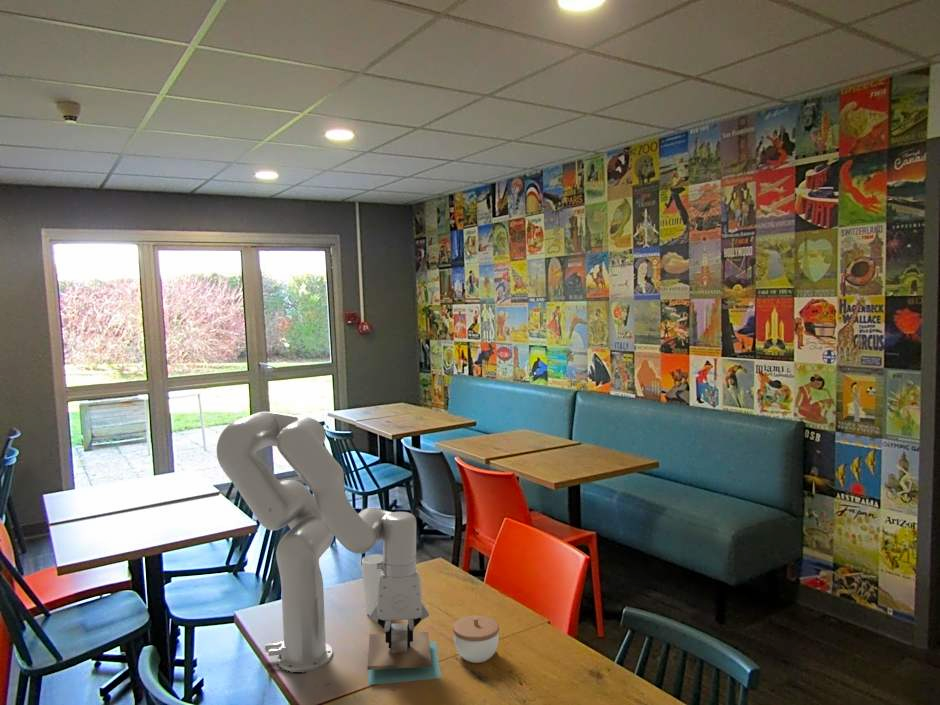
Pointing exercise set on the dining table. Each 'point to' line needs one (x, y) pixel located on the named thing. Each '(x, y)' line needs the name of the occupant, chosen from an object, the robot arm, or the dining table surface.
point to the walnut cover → (398, 650)
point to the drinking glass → (371, 579)
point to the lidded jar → (476, 637)
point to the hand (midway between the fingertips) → (399, 644)
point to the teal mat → (407, 671)
